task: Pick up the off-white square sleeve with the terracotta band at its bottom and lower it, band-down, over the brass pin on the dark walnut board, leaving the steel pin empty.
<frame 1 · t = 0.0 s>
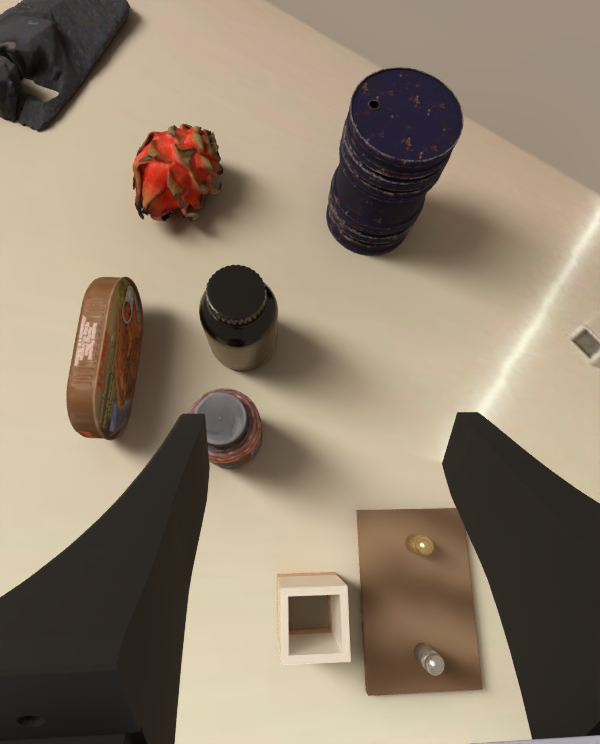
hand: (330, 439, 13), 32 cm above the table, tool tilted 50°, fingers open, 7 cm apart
dark slate chunk: (49, 54, 56), on the table
supplement bottle: (243, 341, 48), on the table
supplement bottle 2: (231, 438, 45), on the table
brass pin: (413, 543, 43), resting on board
steel pin: (422, 652, 40), resting on board
board: (414, 594, 43), on the table
tin: (122, 369, 46), on the table
dark blue cylinder: (367, 219, 53), on the table
dragon fruit: (182, 198, 52), on the table
sleeve: (306, 604, 42), on the table
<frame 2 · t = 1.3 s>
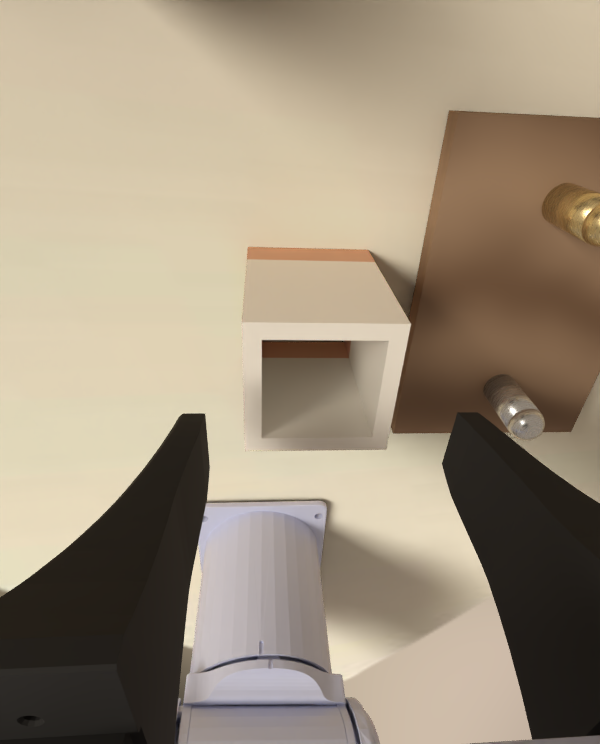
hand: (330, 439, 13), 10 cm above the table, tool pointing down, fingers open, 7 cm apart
brass pin: (561, 203, 19), resting on board
steel pin: (498, 387, 23), resting on board
board: (516, 297, 22), on the table
sleeve: (305, 303, 21), on the table
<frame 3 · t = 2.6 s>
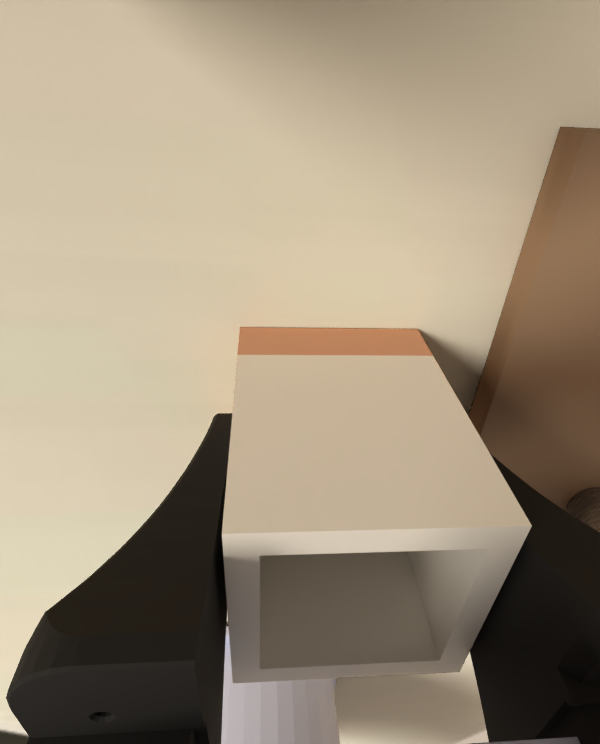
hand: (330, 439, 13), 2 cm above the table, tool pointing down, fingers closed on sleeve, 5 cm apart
steel pin: (587, 502, 17), resting on board
sleeve: (323, 399, 15), on the table, touching gripper
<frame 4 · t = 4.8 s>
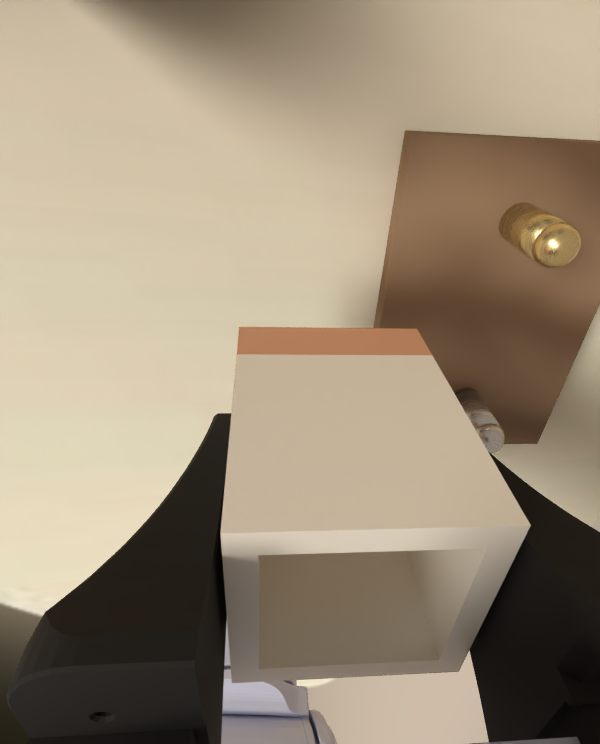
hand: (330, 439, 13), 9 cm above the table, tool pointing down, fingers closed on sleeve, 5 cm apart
brass pin: (518, 222, 19), resting on board
steel pin: (463, 400, 24), resting on board
board: (479, 312, 22), on the table
sleeve: (322, 399, 15), point 8 cm above the table, touching gripper
when the fingers open (4 cm above the table, at t = 7.2 s): sleeve drops 2 cm, resting on board.
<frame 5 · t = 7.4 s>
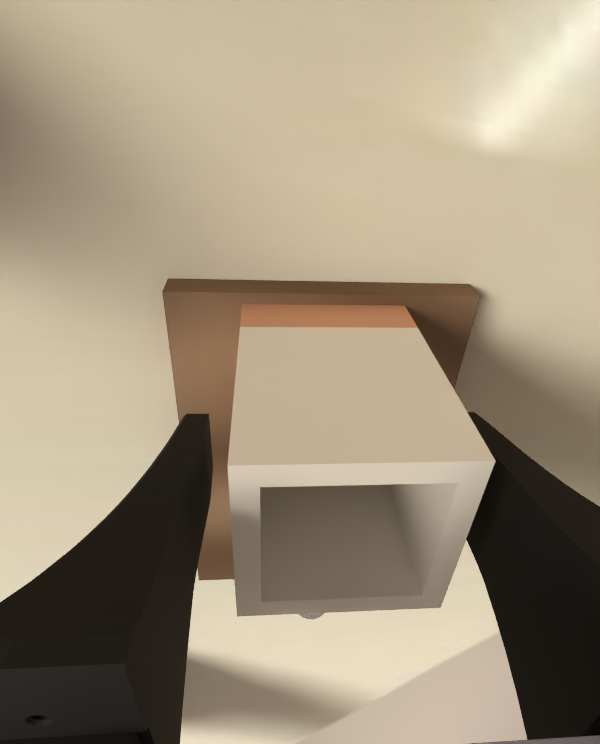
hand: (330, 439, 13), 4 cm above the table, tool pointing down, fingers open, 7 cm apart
board: (309, 449, 19), on the table
sleeve: (319, 373, 16), point 1 cm above the table, touching board
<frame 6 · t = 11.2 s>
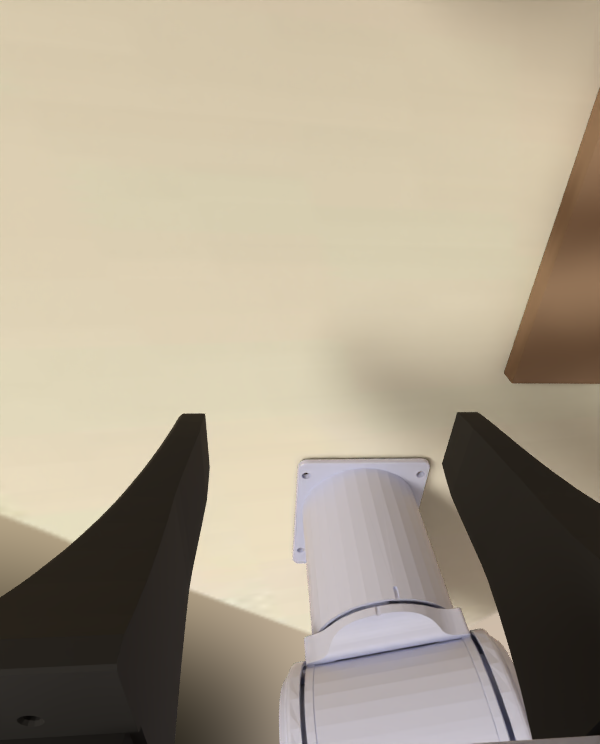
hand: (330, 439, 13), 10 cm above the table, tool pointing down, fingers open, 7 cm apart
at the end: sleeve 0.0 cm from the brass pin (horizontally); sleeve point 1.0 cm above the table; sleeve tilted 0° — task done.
